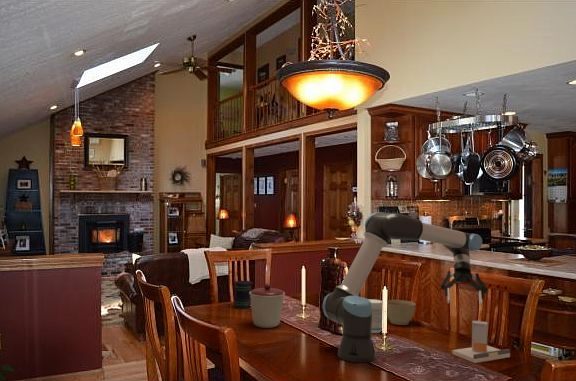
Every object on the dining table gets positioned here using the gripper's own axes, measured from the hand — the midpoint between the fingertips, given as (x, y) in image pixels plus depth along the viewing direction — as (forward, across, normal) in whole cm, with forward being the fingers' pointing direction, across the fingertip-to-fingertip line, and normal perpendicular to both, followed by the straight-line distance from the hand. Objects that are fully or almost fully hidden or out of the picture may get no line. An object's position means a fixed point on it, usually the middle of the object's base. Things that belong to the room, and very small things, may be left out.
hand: (464, 303), depth 211 cm
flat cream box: (+22, -6, -4) cm, 24 cm away
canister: (+13, +93, -16) cm, 95 cm away
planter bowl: (-8, +29, -36) cm, 46 cm away
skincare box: (+21, -5, -4) cm, 22 cm away
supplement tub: (+7, +41, -21) cm, 46 cm away
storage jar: (-12, +119, -41) cm, 126 cm away
